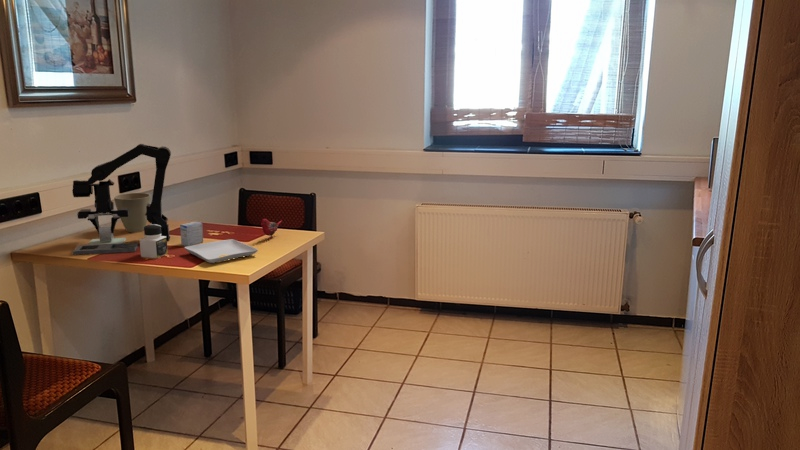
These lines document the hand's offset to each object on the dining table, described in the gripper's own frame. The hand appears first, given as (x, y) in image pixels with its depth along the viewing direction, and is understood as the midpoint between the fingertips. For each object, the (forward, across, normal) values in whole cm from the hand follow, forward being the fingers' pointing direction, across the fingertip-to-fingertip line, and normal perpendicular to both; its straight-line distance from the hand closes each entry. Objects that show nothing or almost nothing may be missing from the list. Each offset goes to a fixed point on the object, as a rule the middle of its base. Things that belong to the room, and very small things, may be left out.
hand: (106, 233), depth 244 cm
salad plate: (+5, -46, +28) cm, 54 cm away
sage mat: (+4, 0, 0) cm, 4 cm away
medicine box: (+4, -34, +8) cm, 35 cm away
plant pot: (+4, -8, -20) cm, 22 cm away
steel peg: (+3, 0, 0) cm, 3 cm away
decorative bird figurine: (+4, -67, +5) cm, 67 cm away
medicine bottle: (+4, -21, +23) cm, 31 cm away
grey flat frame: (+4, -2, +12) cm, 13 cm away
